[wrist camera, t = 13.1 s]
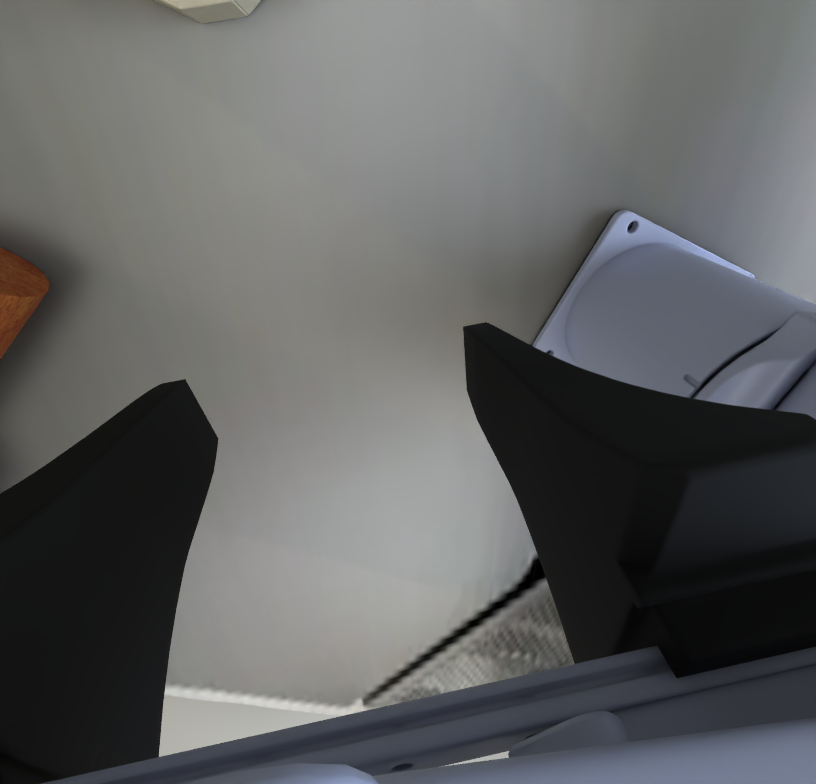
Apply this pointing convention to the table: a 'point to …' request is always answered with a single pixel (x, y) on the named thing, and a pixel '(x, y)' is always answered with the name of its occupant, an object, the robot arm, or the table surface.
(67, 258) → the table surface
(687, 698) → the robot arm
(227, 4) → the tape roll
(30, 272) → the maraca
